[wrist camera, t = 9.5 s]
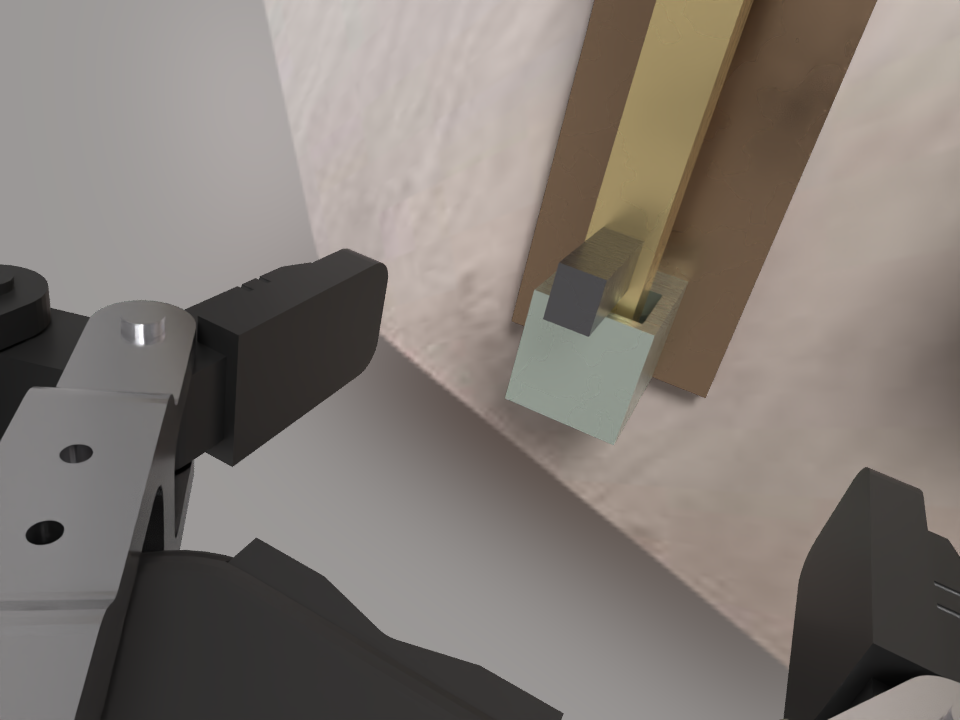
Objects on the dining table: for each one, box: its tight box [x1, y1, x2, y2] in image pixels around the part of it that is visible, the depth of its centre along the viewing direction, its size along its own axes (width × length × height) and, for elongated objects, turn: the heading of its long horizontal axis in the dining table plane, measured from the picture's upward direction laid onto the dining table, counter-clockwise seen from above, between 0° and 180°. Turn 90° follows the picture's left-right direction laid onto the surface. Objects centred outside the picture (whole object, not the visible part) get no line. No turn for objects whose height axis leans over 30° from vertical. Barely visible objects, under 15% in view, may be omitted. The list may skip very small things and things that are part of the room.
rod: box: [543, 0, 753, 337], centre depth 24 cm, size 19×3×8 cm, turn 167°
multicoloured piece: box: [505, 0, 877, 445], centre depth 26 cm, size 30×10×8 cm, turn 167°
